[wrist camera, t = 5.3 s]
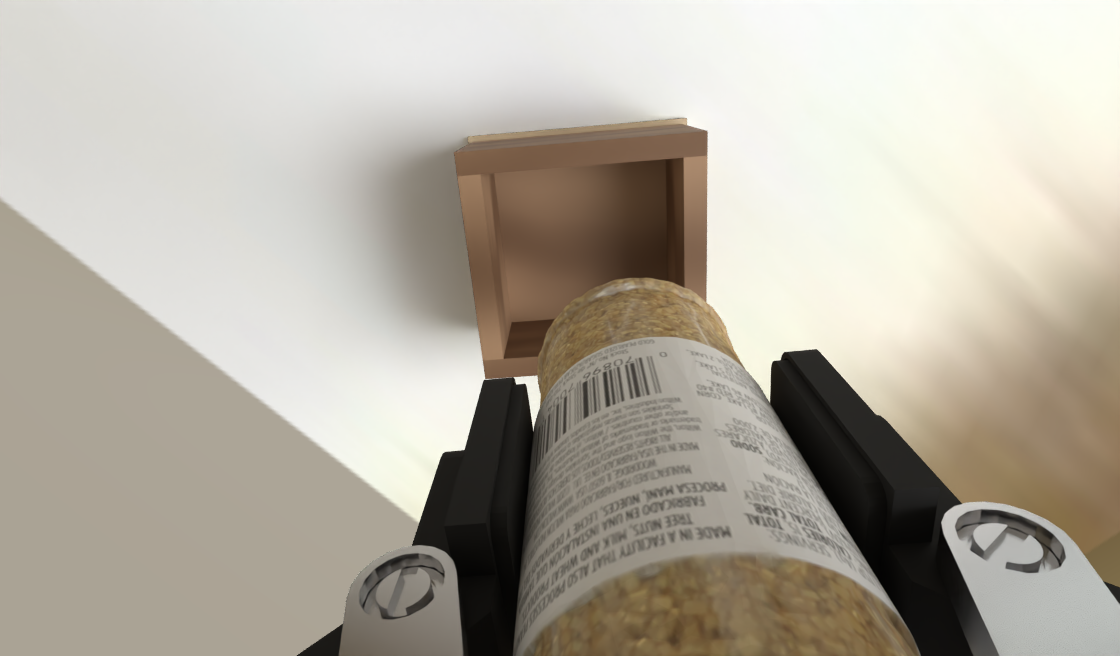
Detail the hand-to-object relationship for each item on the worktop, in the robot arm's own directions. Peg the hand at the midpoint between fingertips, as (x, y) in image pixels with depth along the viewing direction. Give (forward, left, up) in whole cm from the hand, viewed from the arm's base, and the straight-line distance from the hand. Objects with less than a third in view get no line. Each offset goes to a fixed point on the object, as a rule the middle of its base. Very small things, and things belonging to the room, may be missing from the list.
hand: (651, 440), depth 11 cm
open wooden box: (0, -1, -17) cm, 17 cm away
